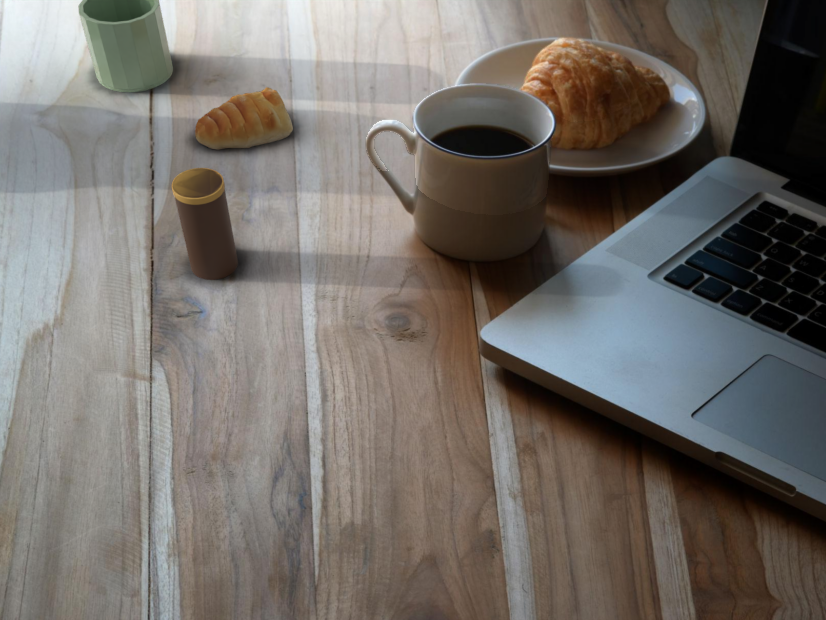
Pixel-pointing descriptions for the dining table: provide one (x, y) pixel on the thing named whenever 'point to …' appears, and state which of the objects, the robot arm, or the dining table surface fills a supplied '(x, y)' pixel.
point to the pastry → (245, 121)
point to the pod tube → (205, 222)
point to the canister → (127, 43)
